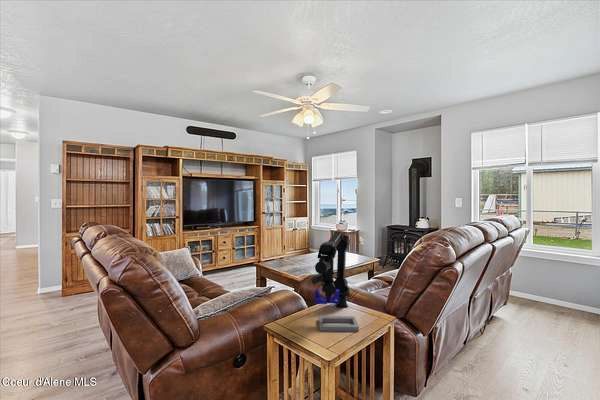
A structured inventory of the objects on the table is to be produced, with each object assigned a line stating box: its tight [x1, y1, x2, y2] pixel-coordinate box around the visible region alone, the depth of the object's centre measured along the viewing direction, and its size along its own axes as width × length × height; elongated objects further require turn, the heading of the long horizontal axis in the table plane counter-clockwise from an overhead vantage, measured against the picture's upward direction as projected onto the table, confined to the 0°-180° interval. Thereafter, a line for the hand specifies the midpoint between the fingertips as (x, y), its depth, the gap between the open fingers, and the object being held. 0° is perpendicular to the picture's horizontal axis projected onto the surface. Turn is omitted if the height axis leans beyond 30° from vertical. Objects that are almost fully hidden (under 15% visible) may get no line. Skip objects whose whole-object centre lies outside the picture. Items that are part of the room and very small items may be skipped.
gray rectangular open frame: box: [318, 315, 360, 332], centre depth 142 cm, size 12×18×2 cm, turn 89°
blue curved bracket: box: [314, 288, 339, 305], centre depth 146 cm, size 12×4×6 cm, turn 84°
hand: (327, 300), depth 146 cm, fingers closed on blue curved bracket, 4 cm apart
